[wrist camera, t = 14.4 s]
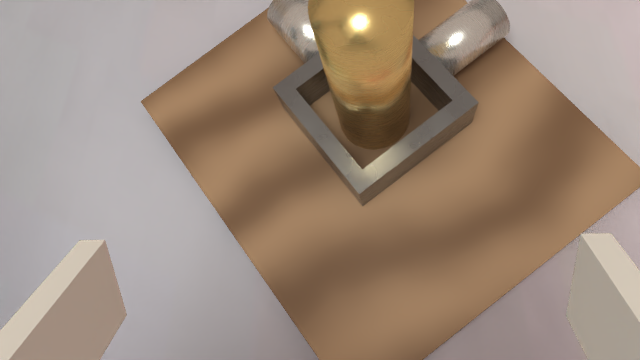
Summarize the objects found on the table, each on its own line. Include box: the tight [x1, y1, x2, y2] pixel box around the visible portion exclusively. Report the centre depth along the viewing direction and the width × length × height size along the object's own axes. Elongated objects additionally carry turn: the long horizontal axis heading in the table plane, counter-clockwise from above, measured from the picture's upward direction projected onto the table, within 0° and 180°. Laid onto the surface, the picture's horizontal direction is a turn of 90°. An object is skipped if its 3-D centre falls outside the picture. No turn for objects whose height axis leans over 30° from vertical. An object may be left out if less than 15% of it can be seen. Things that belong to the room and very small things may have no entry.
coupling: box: [308, 0, 414, 150], centre depth 28 cm, size 4×4×12 cm
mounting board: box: [141, 0, 640, 360], centre depth 33 cm, size 24×21×1 cm
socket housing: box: [267, 0, 510, 206], centre depth 33 cm, size 13×13×3 cm
